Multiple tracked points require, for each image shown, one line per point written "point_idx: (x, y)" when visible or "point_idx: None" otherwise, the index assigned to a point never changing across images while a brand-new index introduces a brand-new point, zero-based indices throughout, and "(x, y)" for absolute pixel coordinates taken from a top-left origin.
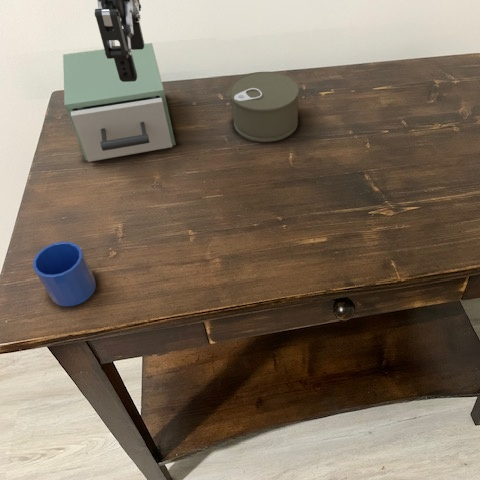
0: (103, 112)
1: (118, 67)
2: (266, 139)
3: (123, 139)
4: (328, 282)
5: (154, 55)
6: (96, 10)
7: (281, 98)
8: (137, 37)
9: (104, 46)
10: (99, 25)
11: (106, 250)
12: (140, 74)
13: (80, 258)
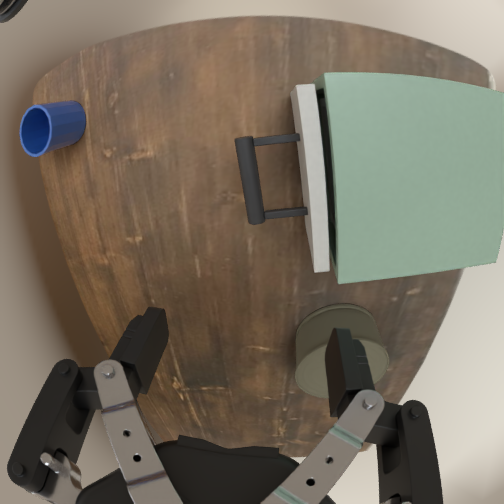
0: (305, 153)
1: (118, 342)
2: (296, 335)
3: (246, 181)
4: (100, 333)
5: (461, 267)
6: (13, 480)
7: (319, 383)
8: (330, 375)
9: (42, 389)
10: (19, 442)
11: (112, 144)
12: (410, 242)
13: (34, 156)
